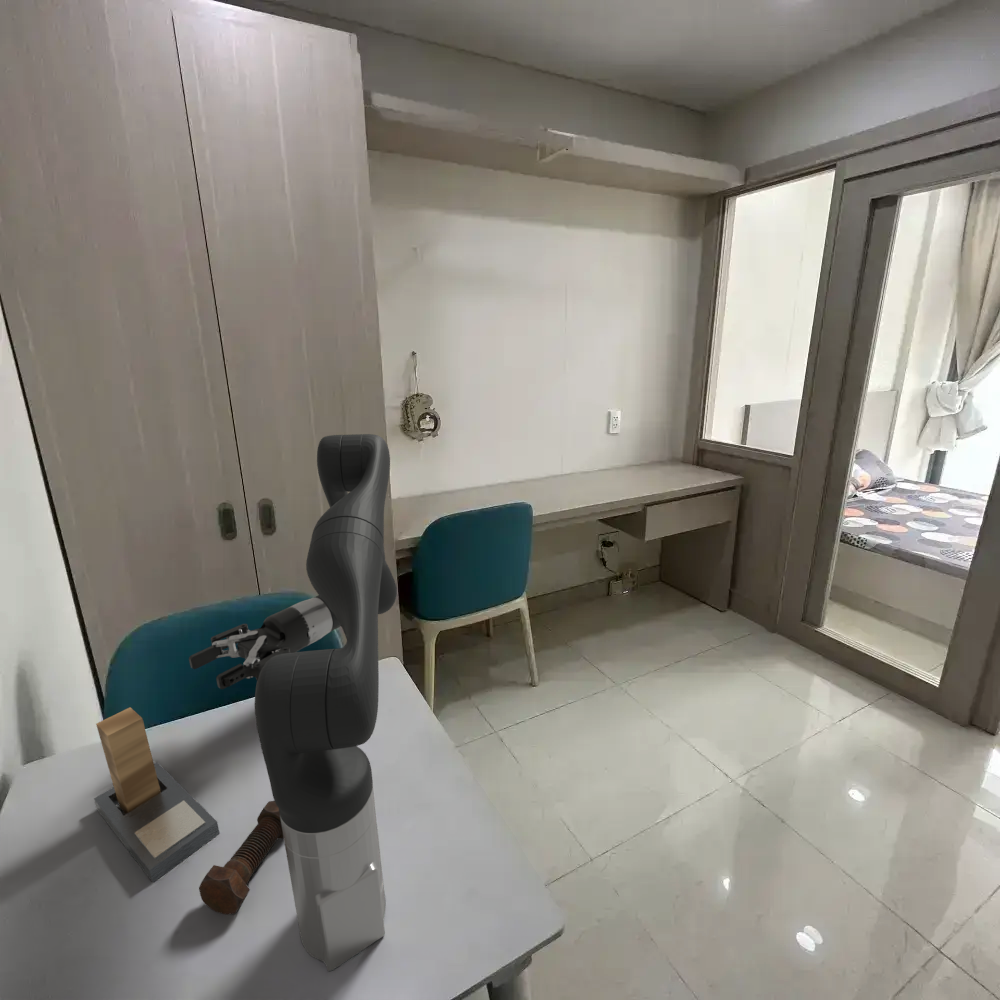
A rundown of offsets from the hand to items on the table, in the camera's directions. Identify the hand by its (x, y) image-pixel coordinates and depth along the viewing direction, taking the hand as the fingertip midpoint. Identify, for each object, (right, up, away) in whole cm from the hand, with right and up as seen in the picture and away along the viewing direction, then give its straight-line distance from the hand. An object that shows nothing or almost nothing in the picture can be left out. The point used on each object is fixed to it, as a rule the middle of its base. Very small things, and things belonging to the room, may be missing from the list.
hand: (204, 673), depth 78 cm
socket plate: (-2, -18, -8) cm, 19 cm away
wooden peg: (-6, -17, -5) cm, 19 cm away
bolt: (+15, -19, -12) cm, 27 cm away
